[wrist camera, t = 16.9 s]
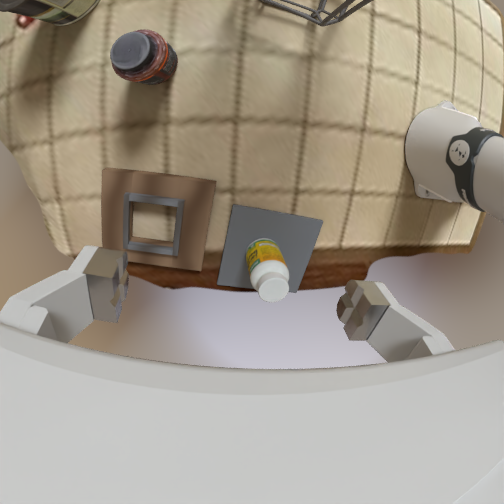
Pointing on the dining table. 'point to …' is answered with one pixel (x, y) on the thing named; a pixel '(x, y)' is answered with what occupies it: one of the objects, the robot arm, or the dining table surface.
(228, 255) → the slate mat
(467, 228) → the dining table surface
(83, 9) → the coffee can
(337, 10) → the geometric lantern
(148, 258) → the walnut stand
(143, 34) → the supplement bottle
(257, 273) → the supplement bottle
